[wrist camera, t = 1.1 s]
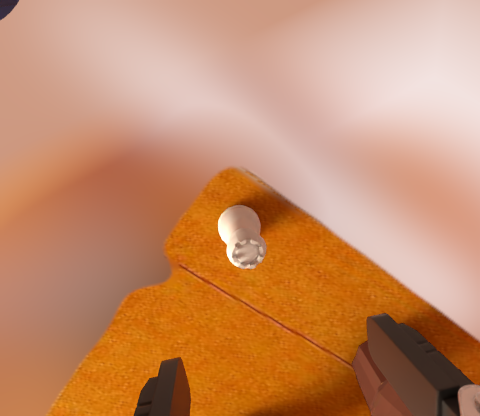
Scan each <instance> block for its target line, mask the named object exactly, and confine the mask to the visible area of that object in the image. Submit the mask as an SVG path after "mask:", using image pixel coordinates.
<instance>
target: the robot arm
mask: <svg viewBox="0 0 480 416" xmlns="http://www.w3.org/2000/svg"><path fill="white" fill-rule="evenodd" d="M367 335H368V348H369V352H370V355H371V357H372V359H373V361H374V362H375V364H376V365H377V367H378V368H379V369H380V371H381V372H382V374H383V375H384V376H385V378H386V379H387V380H388V382H389V383H390V385H391V386H392V387H393V389H394V390H395V391H396V393H397V394H398V395H399V397H400V398H401V400H402V401H403V402H404V404H405V405H406V406H407V408H408V409H409V411H410V412H411V413H412V415H413V416H480V385H475V384H474V383H473V382H472V381H471V380H470V379H468V378H467V377H466V376H465V375H464V374H463V373H462V372H461V371H460V370H459V369H458V368H457V367H455V366H454V365H453V364H452V363H451V362H450V361H449V360H448V359H447V358H446V357H445V356H444V355H443V354H441V353H440V352H439V351H437V350H436V348H435V347H434V346H433V345H432V344H431V343H430V342H429V343H428V341H427V340H426V339H425V338H424V337H423V336H422V335H421V334H420V333H419V332H418V331H417V330H415V329H413V328H411V327H409V326H407V325H405V324H403V323H401V324H397V323H396V322H395V321H394V320H393V319H392V318H391V317H390V316H389V315H388V314H386V313H383V314H379V315H374V316H370V317H367ZM190 403H191V397H190V388H189V384H188V380H187V376H186V373H185V369H184V365H183V362H182V359H181V357H178V358H174V359H169V360H165V361H162V362H161V365H160V369H159V373H158V377H153V378H149V380H148V381H147V383H146V384H145V386H144V387H143V389H142V390H141V393H140V396H139V400H138V403H137V408H136V410H135V413H134V416H189V415H190Z"/></svg>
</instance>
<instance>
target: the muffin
mask: <svg viewBox="0 0 480 416" xmlns="http://www.w3.org/2000/svg"><path fill="white" fill-rule="evenodd" d="M352 366H353V368H354V370H355V373H356V377H357V380H358V383H359V385H360V388H361V390H362V392H363V395H364V397H365V400H366V402H367V405H368V407H369V409H370V412H371V416H413V415H412V413H411V412H410V411H409V409H408V408H407V406H406V405H405V404H404V402H403V401H402V400H401V398H400V397H399V395H398V394H397V393H396V391H395V390H394V389H393V387H392V386H391V385H390V383H389V382H388V380H387V379H386V378H385V376H384V375H383V374H382V372H381V371H380V369H379V368H378V367H377V365H376V364H375V362H374V361H373V359H372V357H371V355H370V352H369V348H368V341H366V342H364V343H363V344H361V345H360V346H359V347H358V351H357V354H356V356H355V358H354V360H353V362H352ZM459 370H460V369H459ZM460 371H461V370H460Z"/></svg>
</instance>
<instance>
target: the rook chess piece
mask: <svg viewBox="0 0 480 416" xmlns="http://www.w3.org/2000/svg"><path fill="white" fill-rule="evenodd" d="M260 227H261V224H260V221H259V218H258V215H257V214H256V213H255V212H254V211H253V209H251V208H249V207H247V206H244V205H235V206H232V207H230V208H227V209H226V210H225V211H224V212H223V213H222V214H221V216H220V219H219V221H218V231H219V234H220V236H221V238H222V240H223V241H224V242H225V243H226V244H227V256H228V258H229V260H230V261H231V262H232V263H233V264H234V265H235V266H238V267H239V268H242V269H245V268H250V269H253V268H255V267H256V265H258V264H259V263H261V262H262V260H263V258H264V256H265V254H266V244H265V241H264V239H263V238H262V237H261V236H260V235H259V234H260Z"/></svg>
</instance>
